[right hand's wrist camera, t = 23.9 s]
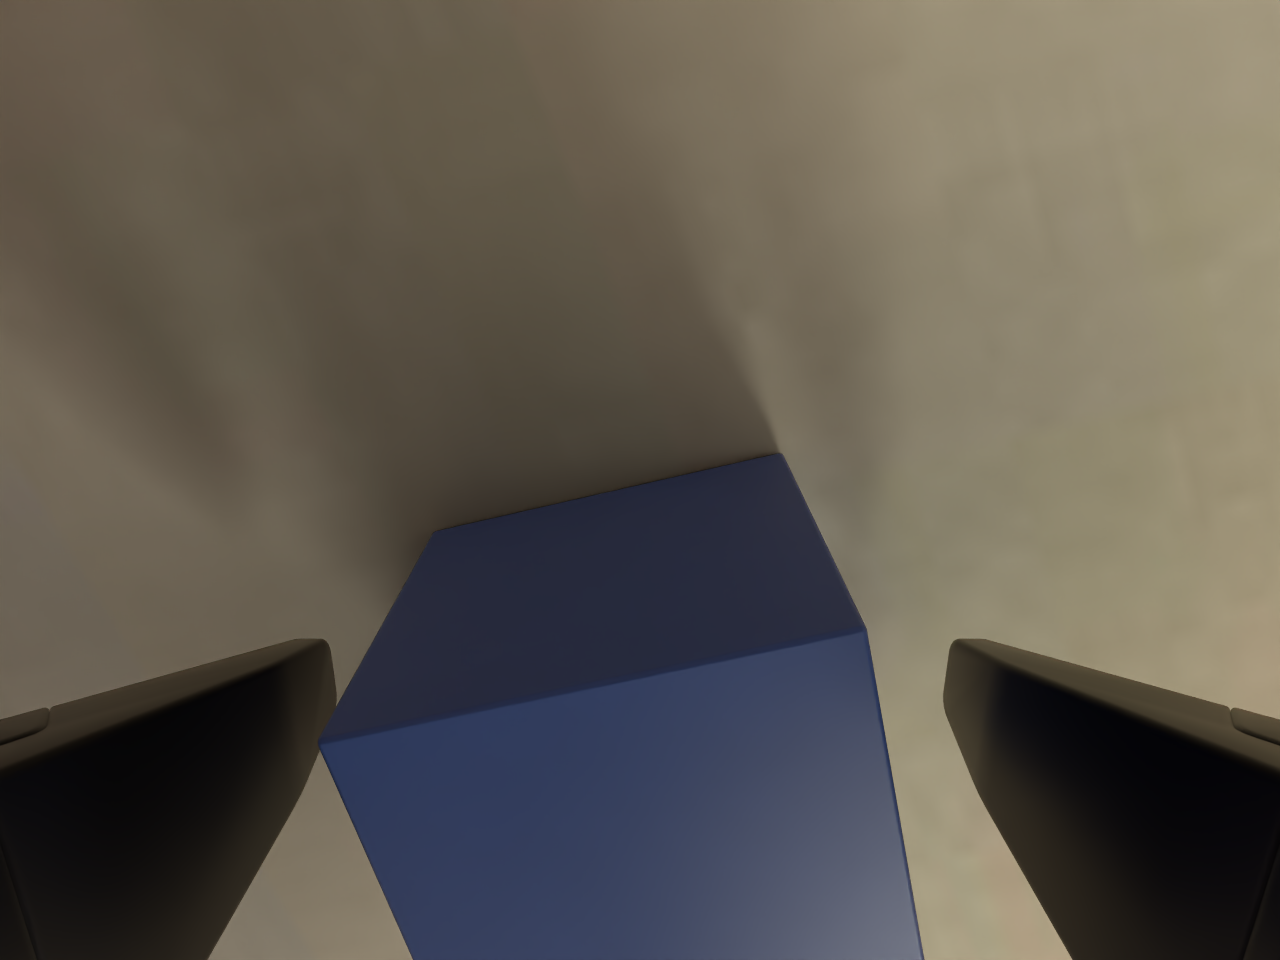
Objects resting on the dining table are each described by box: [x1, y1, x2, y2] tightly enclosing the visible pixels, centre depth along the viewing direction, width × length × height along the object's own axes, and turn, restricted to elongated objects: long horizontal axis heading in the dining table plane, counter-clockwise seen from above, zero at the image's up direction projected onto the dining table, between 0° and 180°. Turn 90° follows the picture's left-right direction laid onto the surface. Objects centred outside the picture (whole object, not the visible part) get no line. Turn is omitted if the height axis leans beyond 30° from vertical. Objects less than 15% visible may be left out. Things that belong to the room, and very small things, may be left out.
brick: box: [318, 453, 924, 960], centre depth 10 cm, size 5×4×5 cm
